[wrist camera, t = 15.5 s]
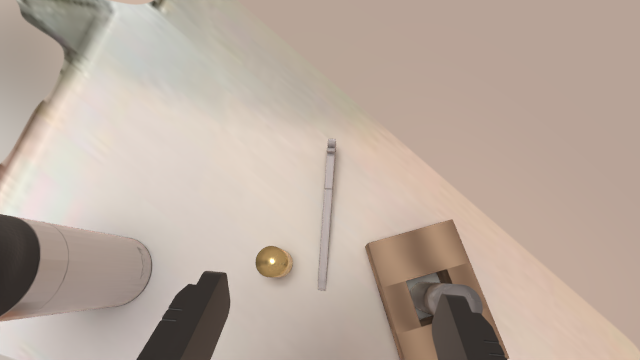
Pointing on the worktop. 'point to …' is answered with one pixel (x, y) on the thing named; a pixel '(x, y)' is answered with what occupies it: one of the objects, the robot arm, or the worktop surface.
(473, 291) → the long pin
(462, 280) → the hole block
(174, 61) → the worktop surface
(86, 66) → the worktop surface
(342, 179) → the worktop surface
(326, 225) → the caliper
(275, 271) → the short pin
